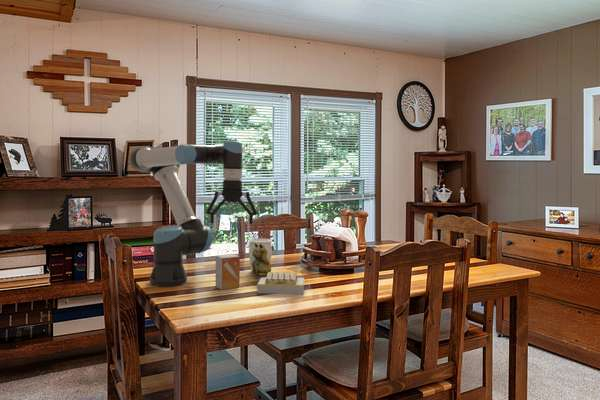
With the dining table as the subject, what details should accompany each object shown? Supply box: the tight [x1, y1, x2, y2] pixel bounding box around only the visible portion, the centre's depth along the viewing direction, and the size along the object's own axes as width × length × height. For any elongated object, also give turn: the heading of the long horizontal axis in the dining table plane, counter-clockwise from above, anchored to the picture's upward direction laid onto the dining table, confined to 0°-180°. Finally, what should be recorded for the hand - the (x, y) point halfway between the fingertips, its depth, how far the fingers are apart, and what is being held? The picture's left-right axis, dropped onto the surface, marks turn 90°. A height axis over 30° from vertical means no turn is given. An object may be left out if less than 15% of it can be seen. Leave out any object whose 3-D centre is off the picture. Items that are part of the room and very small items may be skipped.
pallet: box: [265, 271, 298, 284], centre depth 201 cm, size 12×12×2 cm
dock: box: [256, 277, 305, 295], centre depth 201 cm, size 18×14×4 cm
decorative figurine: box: [251, 243, 272, 280], centre depth 222 cm, size 10×8×15 cm
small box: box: [215, 253, 241, 291], centre depth 202 cm, size 8×6×13 cm
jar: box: [248, 237, 273, 273], centre depth 232 cm, size 11×10×15 cm
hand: (231, 231), depth 203 cm, fingers open, 13 cm apart
